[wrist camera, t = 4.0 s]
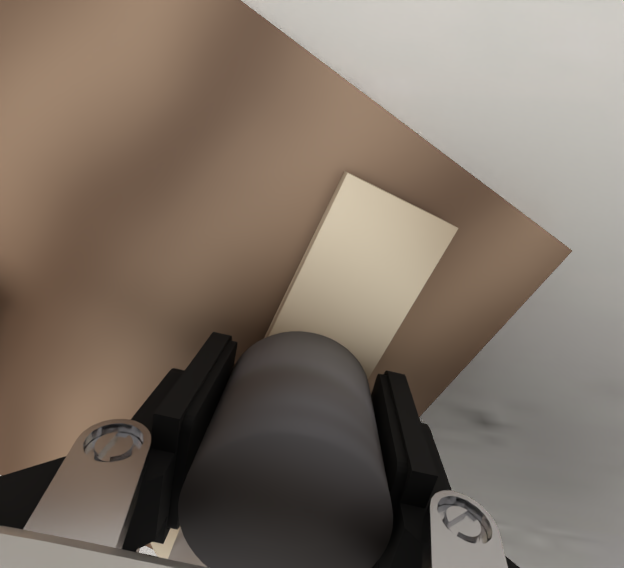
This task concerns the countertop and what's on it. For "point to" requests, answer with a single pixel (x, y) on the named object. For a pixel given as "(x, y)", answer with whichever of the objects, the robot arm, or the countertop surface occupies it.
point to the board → (202, 209)
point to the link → (313, 400)
